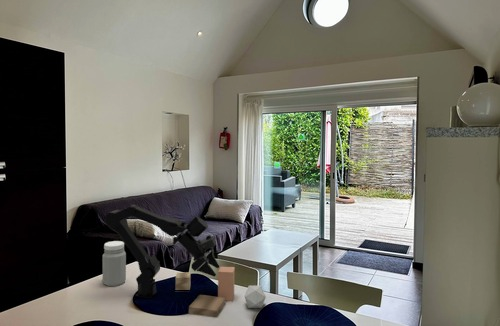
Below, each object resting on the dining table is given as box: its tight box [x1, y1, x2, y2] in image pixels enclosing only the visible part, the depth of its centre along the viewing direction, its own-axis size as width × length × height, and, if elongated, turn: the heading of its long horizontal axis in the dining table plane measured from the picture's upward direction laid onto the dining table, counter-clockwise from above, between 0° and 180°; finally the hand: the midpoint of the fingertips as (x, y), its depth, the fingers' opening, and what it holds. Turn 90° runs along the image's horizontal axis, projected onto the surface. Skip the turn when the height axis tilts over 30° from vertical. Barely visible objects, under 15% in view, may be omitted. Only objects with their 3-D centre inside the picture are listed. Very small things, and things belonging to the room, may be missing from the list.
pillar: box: [217, 266, 236, 302], centre depth 145 cm, size 6×6×12 cm
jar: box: [102, 240, 127, 287], centre depth 158 cm, size 10×10×18 cm
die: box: [244, 285, 266, 309], centre depth 138 cm, size 8×9×10 cm
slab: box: [188, 294, 227, 318], centre depth 135 cm, size 11×11×3 cm
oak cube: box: [175, 271, 191, 290], centre depth 154 cm, size 6×6×6 cm
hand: (217, 271), depth 145 cm, fingers open, 9 cm apart
